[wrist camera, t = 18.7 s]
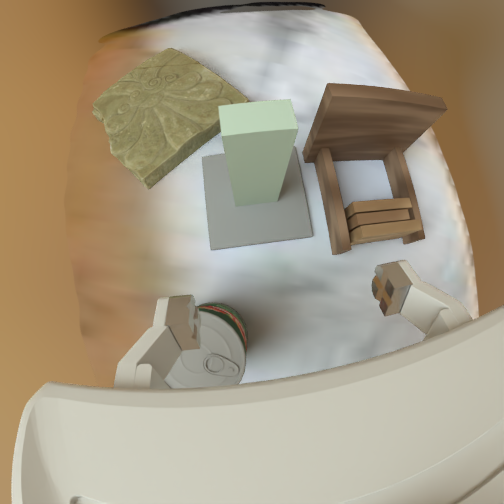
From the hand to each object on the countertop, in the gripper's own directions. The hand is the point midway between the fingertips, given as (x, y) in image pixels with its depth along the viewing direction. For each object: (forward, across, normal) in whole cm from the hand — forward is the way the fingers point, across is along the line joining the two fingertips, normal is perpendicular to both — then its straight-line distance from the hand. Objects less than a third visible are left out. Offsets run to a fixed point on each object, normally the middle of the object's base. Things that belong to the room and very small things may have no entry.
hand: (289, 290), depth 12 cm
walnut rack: (+21, -14, +8) cm, 26 cm away
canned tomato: (+11, +7, +18) cm, 22 cm away
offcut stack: (+18, -14, +10) cm, 25 cm away
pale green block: (+22, 0, +6) cm, 23 cm away
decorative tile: (+34, +12, -5) cm, 36 cm away
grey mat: (+22, 0, +6) cm, 23 cm away
